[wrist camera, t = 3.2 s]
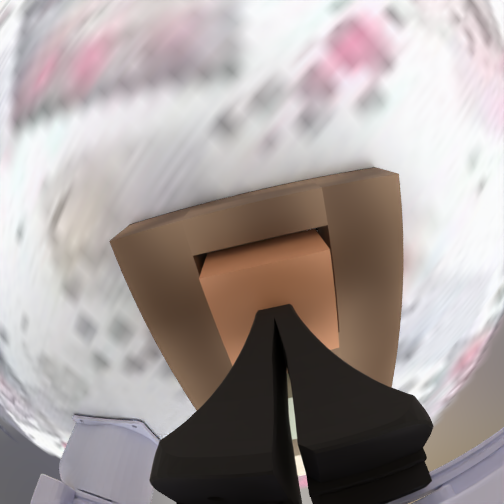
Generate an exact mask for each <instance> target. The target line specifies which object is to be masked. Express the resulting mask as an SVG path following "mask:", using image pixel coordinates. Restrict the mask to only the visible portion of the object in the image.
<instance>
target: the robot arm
mask: <svg viewBox="0 0 504 504" xmlns="http://www.w3.org/2000/svg"><path fill="white" fill-rule="evenodd" d="M287 370H288V374H289V377H290V382H291V389H292V397H293V405H294V413H295V423H296V432H297V443H298V447H299V451H300V454H301V458H302V461H303V465H304V468H305V472H306V475H307V482H308V489H309V495H310V497H311V500H312V503H313V504H408V503H410V502H412V501H415V500H417V499H419V498H421V499H420V500H418V501H416V502H414V503H412V504H504V427H503V428H502V429H501V430H499V431H498V432H497V433H495V434H494V435H492V436H491V437H489V438H488V439H486V440H485V441H484V442H482V443H480V444H479V445H477V446H476V447H474V448H473V449H471V450H469V451H468V452H466V453H464V454H463V455H461V456H459V457H457V458H456V459H454V460H452V461H450V462H449V463H447V464H445V465H443V466H441V467H439V468H437V469H435V470H433V471H431V472H429V471H428V469H427V466H426V464H425V460H426V458H427V457H426V454H425V452H424V449H423V446H424V445H425V443H426V441H427V440H428V438H429V436H430V434H431V432H432V429H433V424H432V421H431V419H430V417H429V415H428V413H427V412H426V410H425V409H424V408H423V406H422V405H421V404H420V402H419V401H418V400H417V399H416V397H415V396H413V395H410V394H407V393H405V392H402V391H399V390H396V389H394V388H391V387H389V386H387V385H384V384H382V383H380V382H378V381H376V380H374V379H372V378H371V377H369V376H367V375H365V374H364V373H362V372H360V371H358V370H357V369H355V368H353V367H352V366H351V365H349V364H348V363H346V362H345V361H343V360H342V359H341V358H339V357H338V356H337V355H336V354H334V353H333V352H332V351H331V350H330V349H328V348H327V347H326V346H325V345H324V344H323V343H322V342H321V341H320V340H319V339H318V338H317V337H316V336H315V335H314V334H313V333H312V332H311V331H310V330H309V328H308V327H307V326H306V325H305V324H304V323H303V321H302V320H301V319H300V317H299V316H298V314H297V313H296V311H295V310H294V308H293V306H292V305H291V304H286V305H281V306H277V307H272V308H267V309H263V310H258V311H257V313H256V315H255V318H254V321H253V324H252V327H251V330H250V332H249V335H248V337H247V339H246V341H245V344H244V346H243V348H242V350H241V352H240V354H239V356H238V357H237V359H236V361H235V363H234V365H233V366H232V368H231V370H230V371H229V373H228V374H227V376H226V377H225V378H224V380H223V381H222V383H221V384H220V385H219V387H218V388H217V389H216V390H215V392H214V393H213V394H212V395H211V397H210V398H209V399H208V400H207V401H206V402H205V403H204V404H203V405H202V406H201V407H200V408H199V409H198V410H197V411H196V412H195V413H194V414H193V415H192V416H191V417H190V418H189V419H188V420H187V421H186V422H184V423H183V424H182V425H181V426H179V427H178V428H177V429H176V430H174V431H173V432H172V433H170V434H169V435H168V436H166V437H165V438H163V439H162V440H160V441H159V440H158V439H157V437H156V436H155V435H154V434H153V433H152V432H151V431H150V430H149V429H148V428H147V427H146V426H145V424H144V423H142V422H140V421H129V420H114V419H102V418H93V417H84V416H77V415H73V417H72V419H73V420H74V421H75V422H76V425H75V427H74V429H73V431H72V434H71V436H70V438H69V441H68V443H67V445H66V448H65V450H64V453H63V455H62V458H61V460H60V466H59V471H60V476H61V480H62V482H61V481H59V480H56V479H54V478H51V477H49V476H47V475H45V474H41V475H40V478H39V480H38V484H37V486H36V489H35V491H34V494H33V497H32V500H31V503H30V504H151V501H152V495H153V490H154V488H155V489H156V490H157V491H159V492H161V493H162V494H164V495H165V496H167V497H168V498H170V499H172V500H174V501H175V502H177V504H302V500H301V494H300V488H299V481H298V475H297V468H296V462H295V455H294V448H293V442H292V435H291V428H290V421H289V405H288V384H287ZM430 493H431V494H430ZM428 494H429V495H428ZM426 495H427V496H426ZM424 496H425V497H424ZM422 497H423V498H422Z"/></svg>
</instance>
